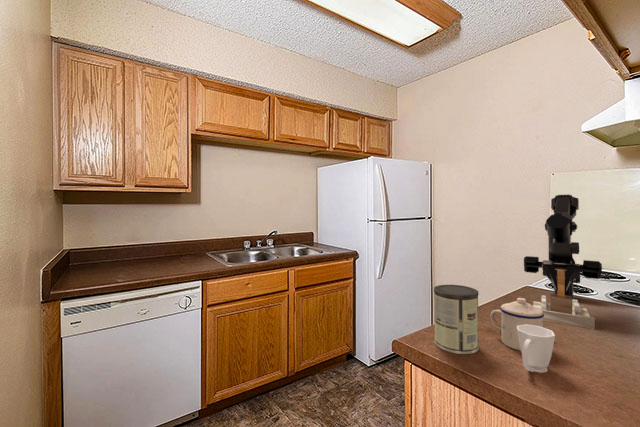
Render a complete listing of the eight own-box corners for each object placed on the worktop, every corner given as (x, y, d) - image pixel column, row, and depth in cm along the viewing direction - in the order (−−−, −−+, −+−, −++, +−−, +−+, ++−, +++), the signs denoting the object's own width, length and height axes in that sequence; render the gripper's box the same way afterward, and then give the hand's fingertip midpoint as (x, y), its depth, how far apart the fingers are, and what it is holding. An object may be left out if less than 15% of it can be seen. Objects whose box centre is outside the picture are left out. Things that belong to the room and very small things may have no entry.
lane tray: (533, 305, 106) (533, 294, 106) (586, 313, 97) (586, 301, 97) (531, 323, 90) (531, 309, 90) (594, 334, 81) (595, 319, 81)
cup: (559, 368, 65) (560, 331, 65) (545, 385, 58) (545, 344, 58) (522, 356, 70) (522, 321, 70) (505, 370, 64) (505, 333, 64)
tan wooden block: (550, 309, 94) (550, 267, 94) (571, 312, 91) (571, 269, 91) (550, 313, 90) (550, 270, 90) (572, 317, 87) (572, 272, 87)
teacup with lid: (550, 346, 75) (550, 299, 74) (534, 357, 70) (534, 306, 69) (499, 330, 85) (499, 289, 84) (482, 338, 80) (482, 294, 79)
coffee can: (442, 333, 83) (442, 282, 83) (483, 344, 76) (483, 288, 76) (427, 345, 76) (426, 289, 76) (471, 359, 69) (470, 297, 69)
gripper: (524, 231, 99) (522, 271, 90) (601, 233, 88) (607, 279, 79) (525, 252, 105) (523, 291, 97) (597, 256, 94) (602, 301, 86)
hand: (561, 290), depth 89 cm, fingers closed on tan wooden block
